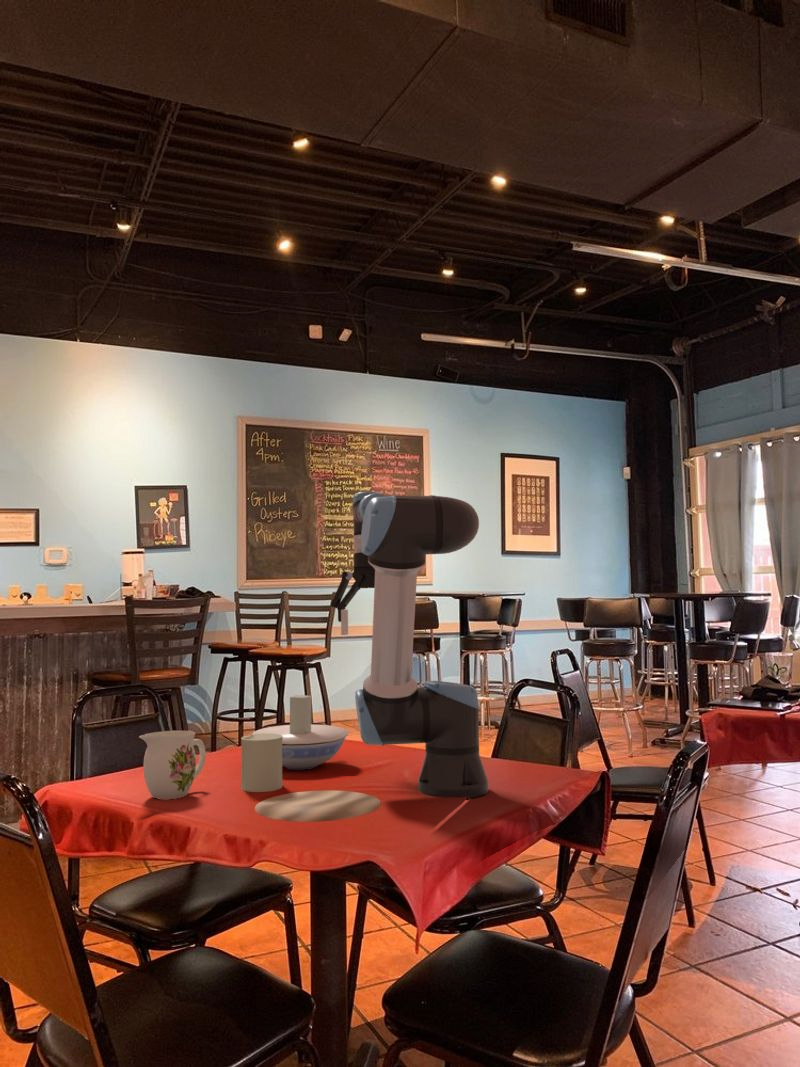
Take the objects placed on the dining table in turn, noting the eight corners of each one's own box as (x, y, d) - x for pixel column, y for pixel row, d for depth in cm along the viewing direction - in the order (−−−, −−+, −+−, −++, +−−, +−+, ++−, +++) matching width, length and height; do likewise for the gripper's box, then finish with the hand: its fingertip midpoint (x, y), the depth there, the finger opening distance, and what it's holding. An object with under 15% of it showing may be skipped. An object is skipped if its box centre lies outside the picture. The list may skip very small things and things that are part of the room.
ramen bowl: (270, 781, 186) (270, 745, 186) (238, 765, 205) (238, 733, 206) (366, 769, 198) (366, 735, 199) (326, 755, 218) (326, 724, 219)
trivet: (398, 797, 168) (398, 794, 168) (350, 829, 145) (350, 825, 145) (291, 790, 177) (291, 787, 177) (230, 819, 153) (230, 815, 153)
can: (237, 787, 180) (238, 733, 181) (278, 783, 183) (278, 730, 184) (243, 796, 171) (244, 739, 173) (286, 792, 175) (286, 736, 176)
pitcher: (221, 789, 178) (222, 726, 179) (157, 807, 163) (158, 738, 164) (187, 784, 184) (187, 723, 185) (122, 801, 169) (123, 734, 170)
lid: (362, 729, 210) (362, 692, 211) (323, 746, 187) (323, 705, 188) (280, 724, 218) (280, 688, 219) (233, 740, 195) (234, 700, 196)
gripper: (318, 553, 209) (318, 635, 207) (408, 549, 200) (410, 635, 198) (330, 554, 216) (330, 634, 214) (418, 551, 207) (419, 634, 205)
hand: (369, 634), depth 206 cm, fingers open, 13 cm apart
